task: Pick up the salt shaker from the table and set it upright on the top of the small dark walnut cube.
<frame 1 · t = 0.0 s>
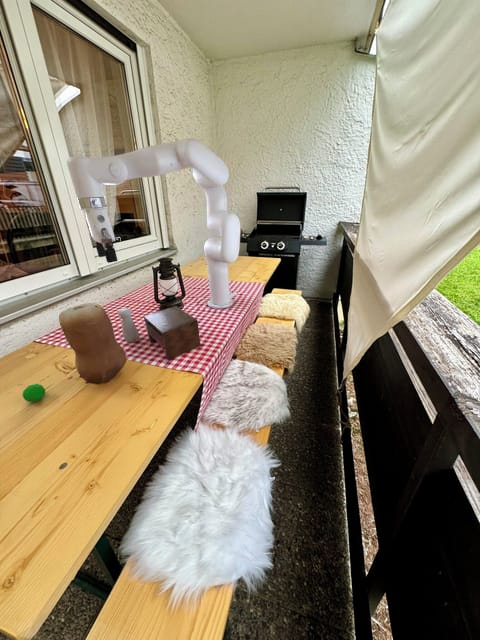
hand: (108, 258, 88), 31 cm above the table, tool pointing down, fingers open, 9 cm apart
dark walnut cube: (174, 343, 97), on the table
butternut squash: (107, 378, 81), on the table
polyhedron: (37, 399, 74), on the table
salt shaker: (132, 340, 101), on the table
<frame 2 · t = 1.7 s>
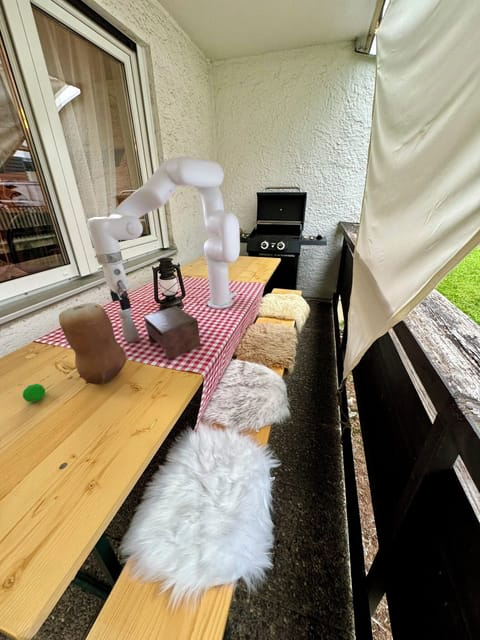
hand: (121, 304, 93), 15 cm above the table, tool pointing down, fingers open, 9 cm apart
nothing on the table moved.
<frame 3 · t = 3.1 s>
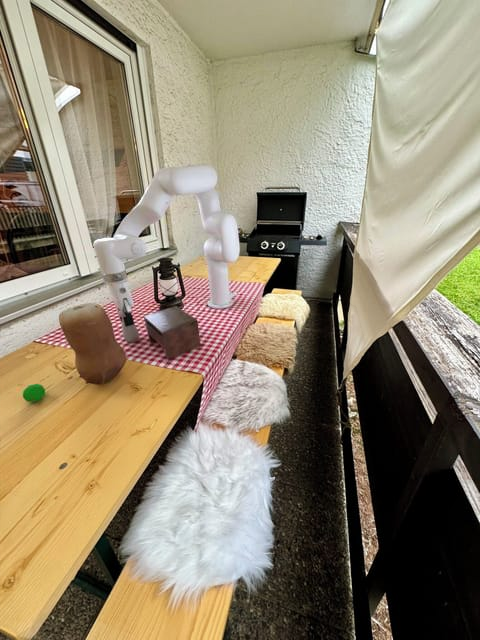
hand: (127, 322, 97), 8 cm above the table, tool pointing down, fingers closed on salt shaker, 4 cm apart
salt shaker: (132, 340, 101), on the table, touching gripper
everything else where it was.
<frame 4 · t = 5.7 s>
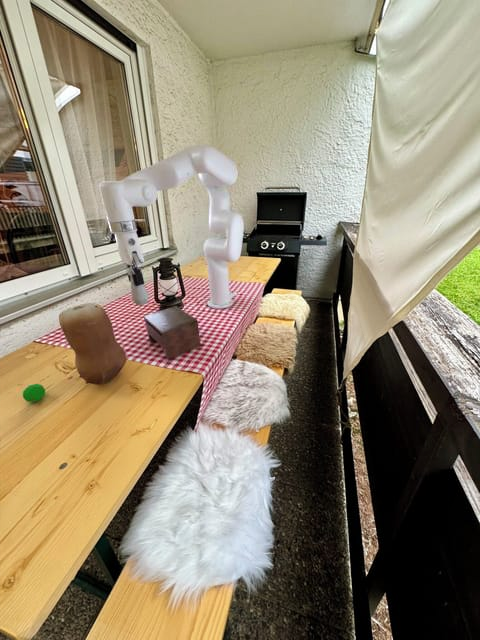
hand: (136, 282, 88), 24 cm above the table, tool pointing down, fingers closed on salt shaker, 4 cm apart
salt shaker: (141, 303, 92), point 16 cm above the table, touching gripper
everything else where it was.
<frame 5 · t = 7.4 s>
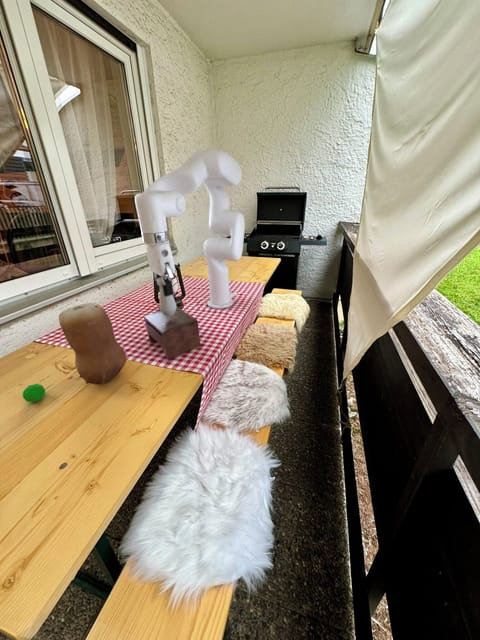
hand: (165, 292, 87), 21 cm above the table, tool pointing down, fingers closed on salt shaker, 4 cm apart
salt shaker: (169, 313, 91), point 13 cm above the table, touching gripper
everything else where it was.
when the fingers open (19 cm above the table, at t = 8.4 s): salt shaker stays where it is, resting on dark walnut cube.
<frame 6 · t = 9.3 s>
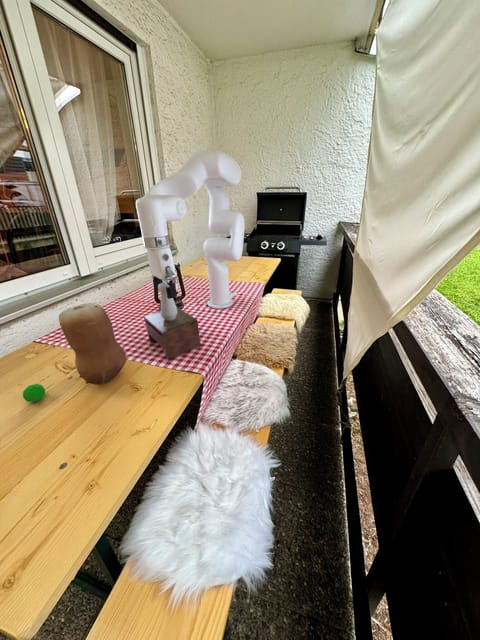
hand: (165, 293, 87), 20 cm above the table, tool pointing down, fingers open, 9 cm apart
salt shaker: (170, 318, 92), point 11 cm above the table, touching dark walnut cube
everything else where it was.
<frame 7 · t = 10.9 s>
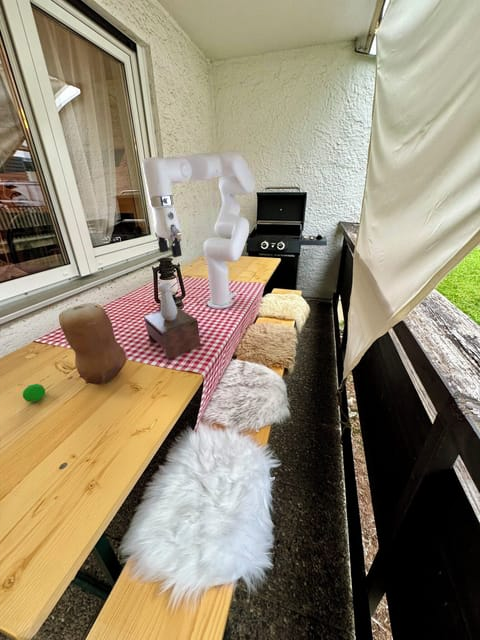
hand: (170, 254, 93), 31 cm above the table, tool pointing down, fingers open, 9 cm apart
nothing on the table moved.
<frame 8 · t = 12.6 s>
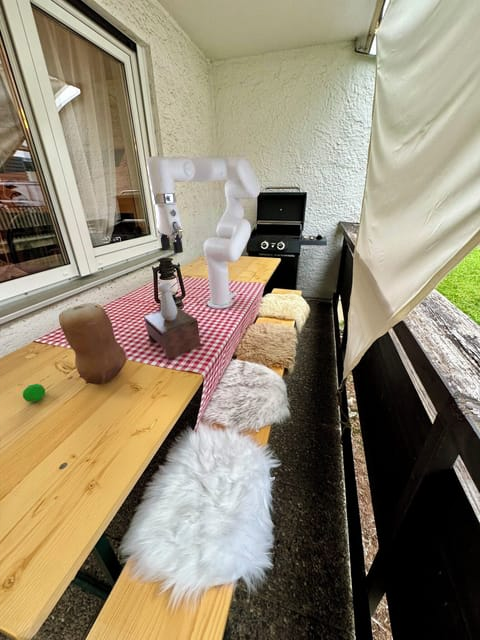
hand: (172, 250, 95), 31 cm above the table, tool pointing down, fingers open, 9 cm apart
nothing on the table moved.
at the end: salt shaker inside the target area on the dark walnut cube (0.0 cm from its centre), point 10.8 cm above the dark walnut cube's base; salt shaker tilted 0°; the gripper is holding nothing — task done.
